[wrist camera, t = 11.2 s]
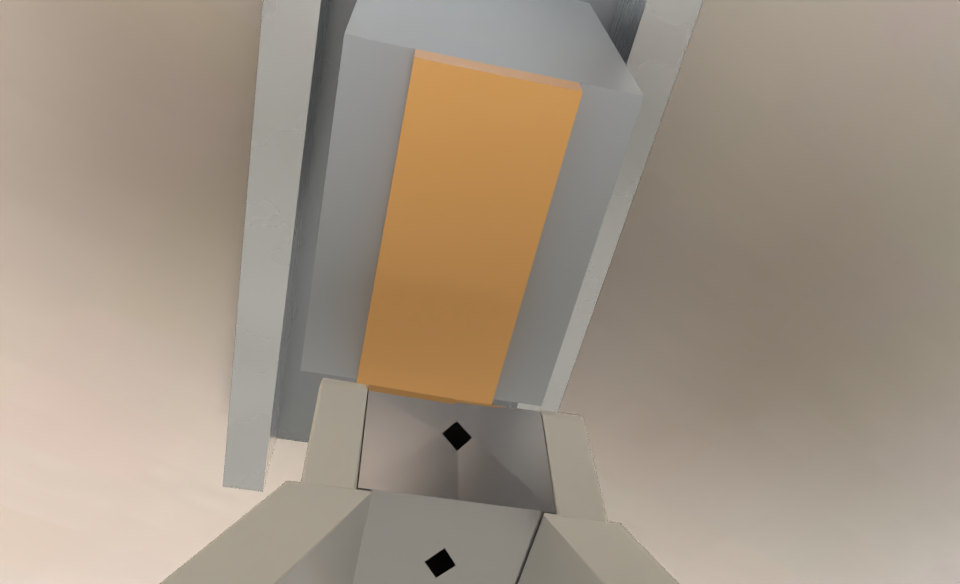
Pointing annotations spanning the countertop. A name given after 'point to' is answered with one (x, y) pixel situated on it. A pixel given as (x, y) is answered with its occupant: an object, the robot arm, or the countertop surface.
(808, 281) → the countertop surface
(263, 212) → the rail
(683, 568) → the countertop surface
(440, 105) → the module
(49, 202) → the countertop surface
